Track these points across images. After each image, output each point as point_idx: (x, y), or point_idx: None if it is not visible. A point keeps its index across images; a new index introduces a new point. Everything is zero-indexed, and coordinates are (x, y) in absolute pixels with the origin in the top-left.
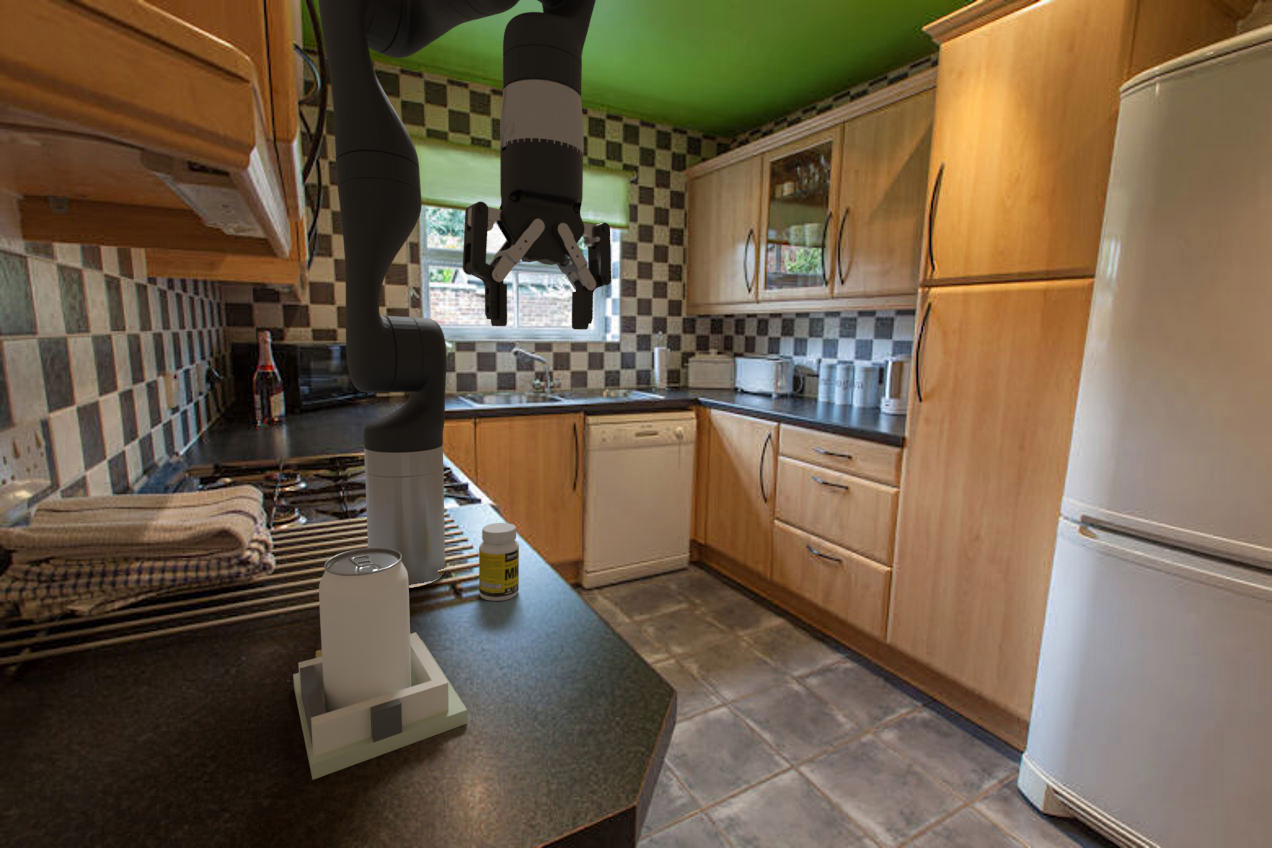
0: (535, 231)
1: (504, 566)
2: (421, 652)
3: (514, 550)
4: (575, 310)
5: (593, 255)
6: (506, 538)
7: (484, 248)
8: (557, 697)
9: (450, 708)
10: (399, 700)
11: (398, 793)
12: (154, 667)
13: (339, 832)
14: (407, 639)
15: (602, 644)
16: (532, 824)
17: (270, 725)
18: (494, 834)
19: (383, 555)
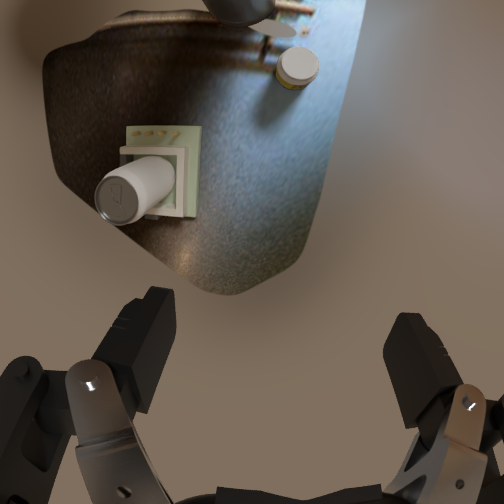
0: None
1: (292, 86)
2: (179, 176)
3: (305, 84)
4: (411, 357)
5: (501, 490)
6: (298, 80)
7: (52, 468)
8: (249, 225)
9: (188, 211)
10: (157, 216)
11: (158, 237)
12: (80, 69)
13: (138, 242)
14: (159, 200)
15: (309, 196)
16: (197, 282)
17: (118, 156)
18: (184, 277)
19: (129, 191)
